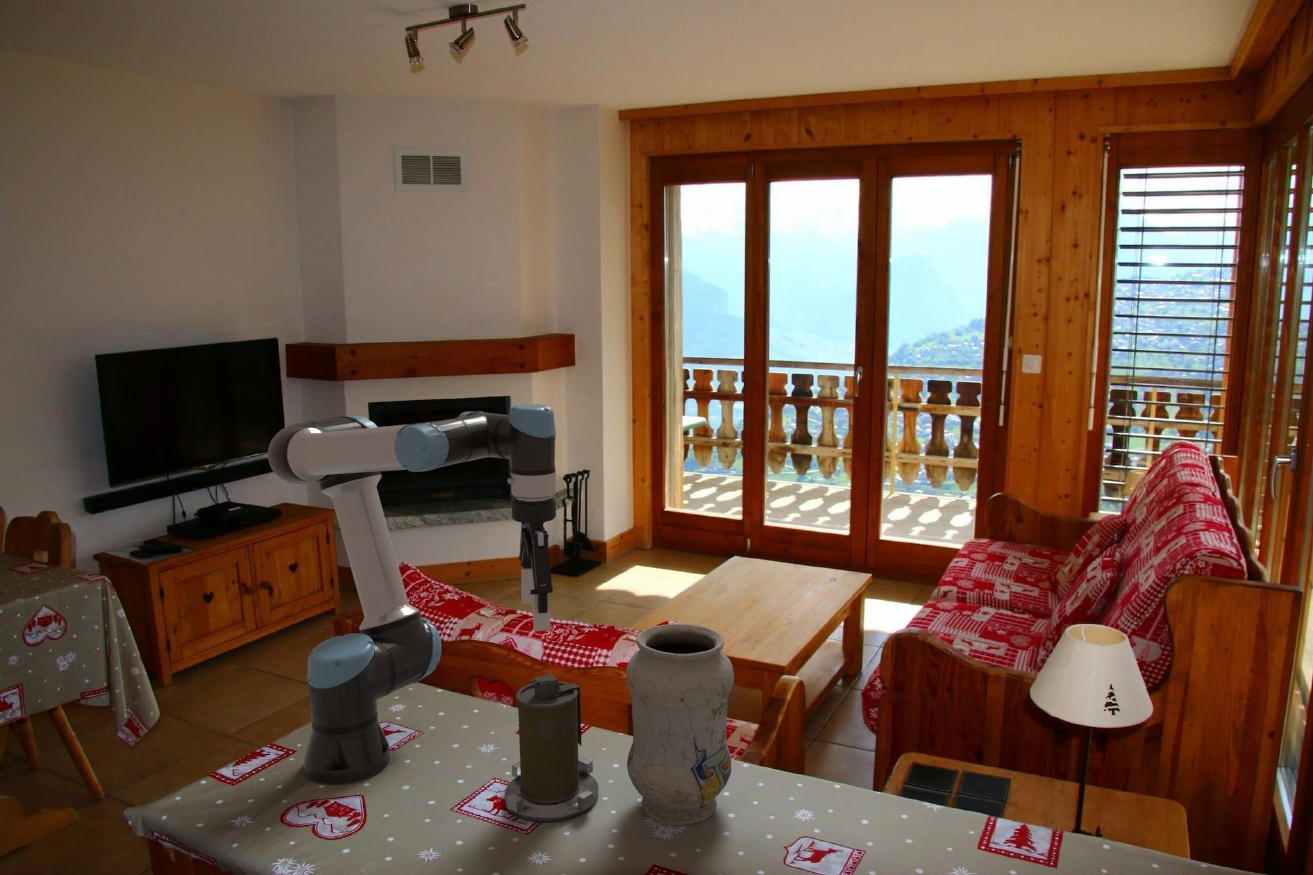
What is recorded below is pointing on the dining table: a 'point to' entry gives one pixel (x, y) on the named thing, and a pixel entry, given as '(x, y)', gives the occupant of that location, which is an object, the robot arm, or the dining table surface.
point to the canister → (549, 739)
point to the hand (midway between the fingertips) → (535, 616)
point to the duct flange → (553, 811)
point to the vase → (679, 721)
